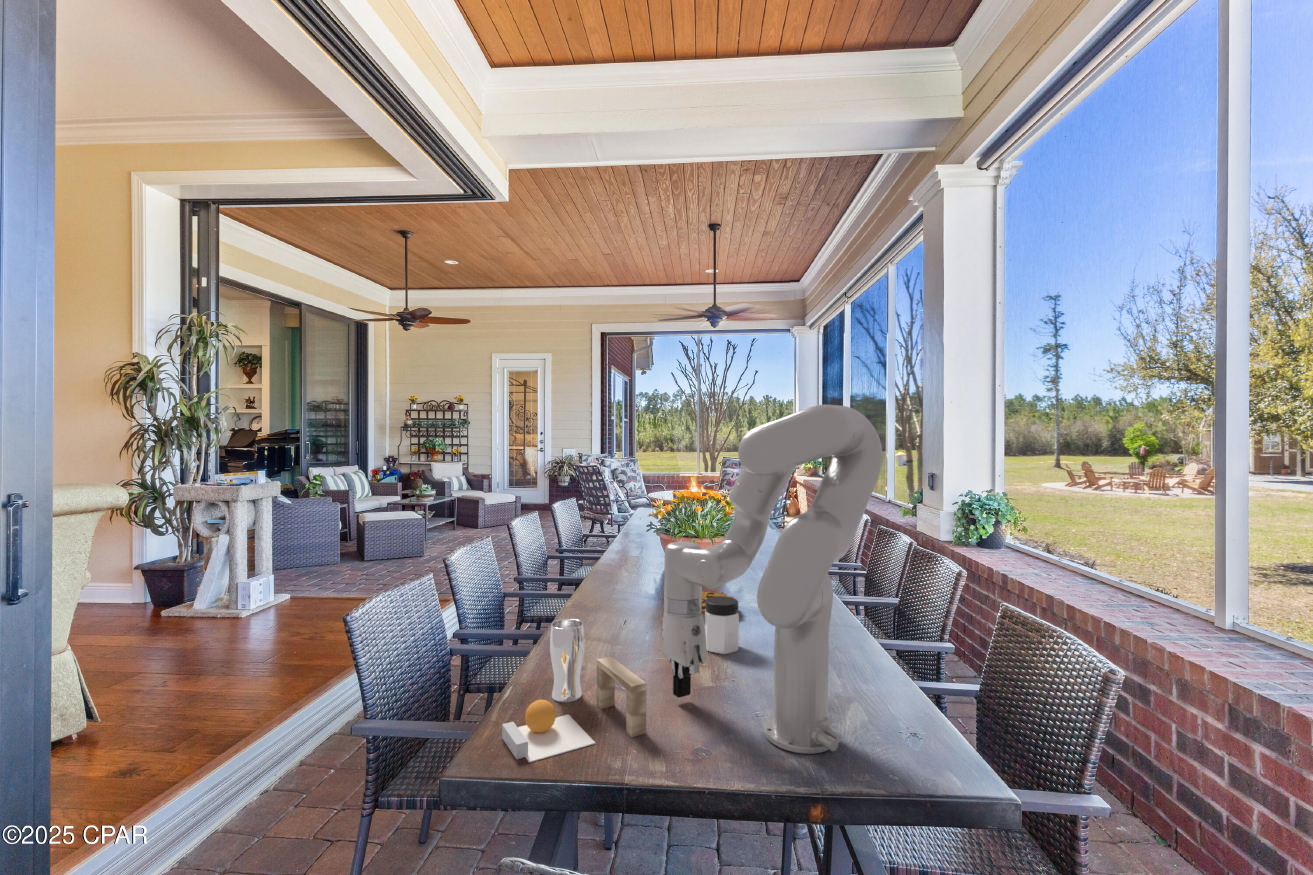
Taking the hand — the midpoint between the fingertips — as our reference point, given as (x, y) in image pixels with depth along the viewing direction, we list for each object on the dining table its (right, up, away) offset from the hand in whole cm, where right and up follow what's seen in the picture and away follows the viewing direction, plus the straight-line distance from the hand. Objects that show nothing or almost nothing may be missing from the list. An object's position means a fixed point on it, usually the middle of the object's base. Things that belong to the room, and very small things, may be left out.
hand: (681, 694), depth 124 cm
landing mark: (-24, -2, -14) cm, 28 cm away
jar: (+11, -1, +30) cm, 32 cm away
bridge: (-12, -2, -7) cm, 14 cm away
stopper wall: (-30, -2, -18) cm, 35 cm away
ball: (-26, +1, -12) cm, 29 cm away
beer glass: (-23, -1, +2) cm, 24 cm away
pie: (+8, -1, +59) cm, 59 cm away
